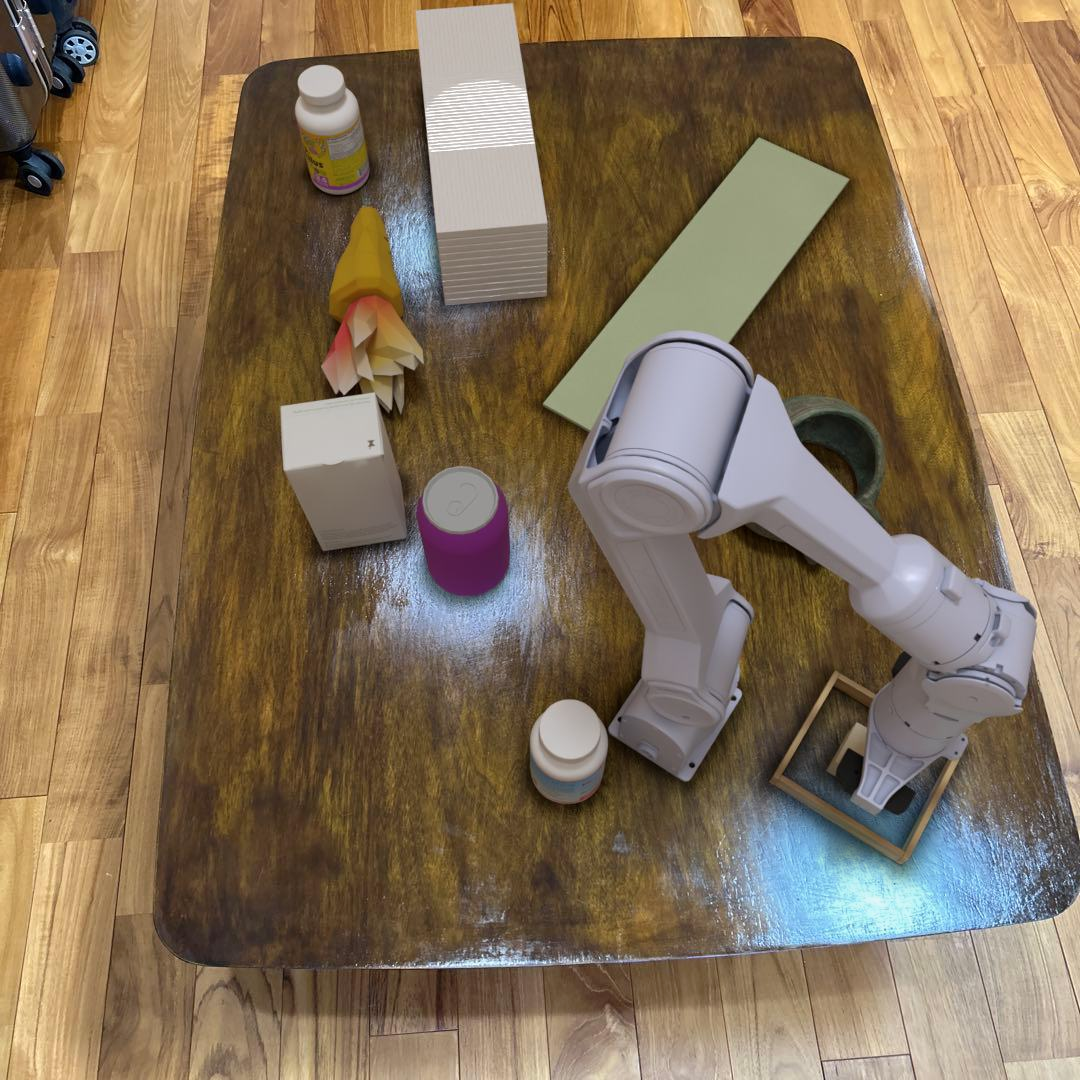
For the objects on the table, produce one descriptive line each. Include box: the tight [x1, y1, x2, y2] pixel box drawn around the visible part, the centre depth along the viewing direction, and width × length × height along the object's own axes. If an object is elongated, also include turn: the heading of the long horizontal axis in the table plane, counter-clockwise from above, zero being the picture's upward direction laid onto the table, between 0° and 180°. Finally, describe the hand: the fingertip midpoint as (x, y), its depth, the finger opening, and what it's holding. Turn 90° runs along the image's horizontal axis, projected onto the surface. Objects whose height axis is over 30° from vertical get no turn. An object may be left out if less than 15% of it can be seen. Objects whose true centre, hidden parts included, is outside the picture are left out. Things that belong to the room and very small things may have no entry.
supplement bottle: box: [294, 64, 371, 196], centre depth 115 cm, size 7×7×13 cm
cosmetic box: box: [280, 392, 408, 552], centre depth 94 cm, size 8×7×16 cm
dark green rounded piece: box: [744, 394, 887, 566], centre depth 97 cm, size 15×15×10 cm
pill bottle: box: [529, 698, 609, 805], centre depth 85 cm, size 6×6×11 cm
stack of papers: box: [414, 2, 549, 307], centre depth 115 cm, size 32×11×11 cm, turn 7°
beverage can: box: [415, 465, 511, 597], centre depth 93 cm, size 8×8×12 cm
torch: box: [320, 205, 425, 415], centre depth 108 cm, size 8×8×25 cm
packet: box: [825, 721, 867, 778], centre depth 89 cm, size 4×5×3 cm
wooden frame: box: [768, 670, 962, 866], centre depth 89 cm, size 11×12×2 cm
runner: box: [542, 137, 850, 433], centre depth 113 cm, size 44×12×1 cm, turn 146°
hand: (878, 754), depth 86 cm, fingers open, 7 cm apart
